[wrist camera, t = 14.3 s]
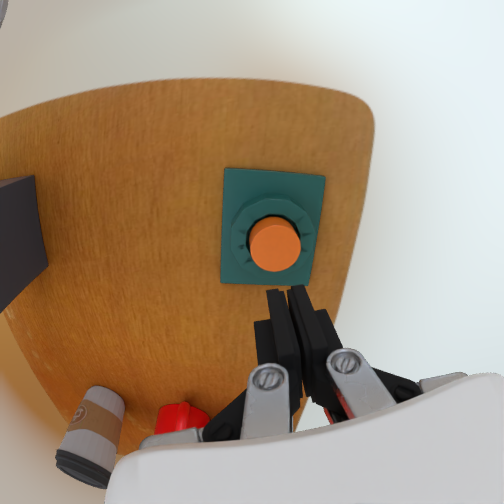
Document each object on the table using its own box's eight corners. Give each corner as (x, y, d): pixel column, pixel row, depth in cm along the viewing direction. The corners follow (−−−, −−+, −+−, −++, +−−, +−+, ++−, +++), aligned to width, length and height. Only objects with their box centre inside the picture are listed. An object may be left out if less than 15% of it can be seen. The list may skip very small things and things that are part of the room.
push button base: (224, 167, 21) (223, 171, 19) (323, 175, 21) (333, 181, 19) (220, 279, 25) (219, 294, 23) (306, 282, 26) (312, 297, 23)
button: (251, 215, 20) (252, 223, 19) (298, 218, 21) (304, 226, 19) (247, 258, 22) (248, 271, 20) (292, 260, 22) (297, 272, 20)
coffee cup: (100, 375, 31) (67, 464, 17) (142, 407, 34) (123, 492, 20) (74, 386, 32) (43, 460, 19) (112, 415, 35) (92, 488, 22)
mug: (214, 392, 32) (211, 443, 25) (208, 431, 37) (206, 472, 30) (154, 383, 31) (142, 432, 24) (160, 424, 36) (153, 464, 29)
